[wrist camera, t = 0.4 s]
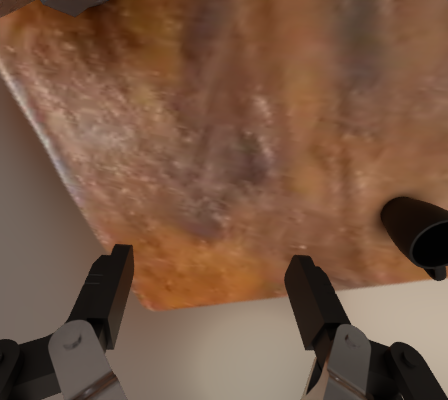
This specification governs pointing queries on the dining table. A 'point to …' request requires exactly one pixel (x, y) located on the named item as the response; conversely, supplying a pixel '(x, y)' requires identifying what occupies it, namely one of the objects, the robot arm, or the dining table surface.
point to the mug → (419, 233)
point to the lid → (12, 6)
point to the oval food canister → (72, 5)
